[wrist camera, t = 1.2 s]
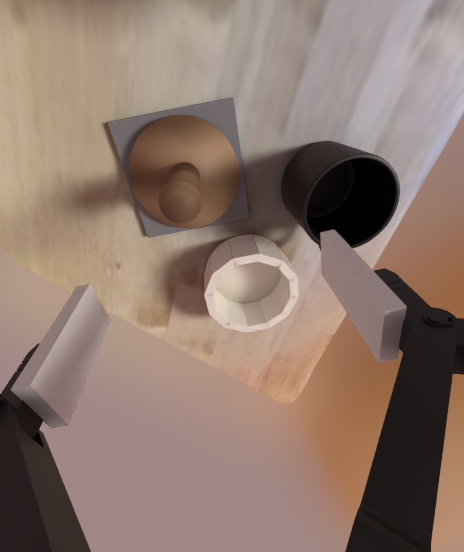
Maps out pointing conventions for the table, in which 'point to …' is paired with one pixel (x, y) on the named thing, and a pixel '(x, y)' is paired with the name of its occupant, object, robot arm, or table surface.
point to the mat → (213, 112)
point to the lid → (184, 171)
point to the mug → (340, 192)
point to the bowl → (249, 283)
